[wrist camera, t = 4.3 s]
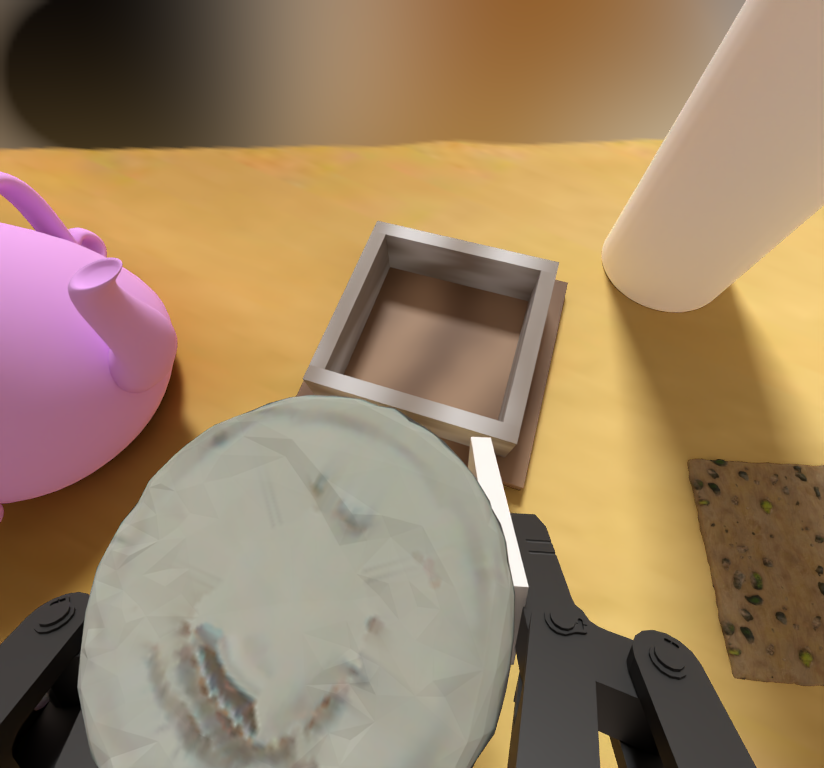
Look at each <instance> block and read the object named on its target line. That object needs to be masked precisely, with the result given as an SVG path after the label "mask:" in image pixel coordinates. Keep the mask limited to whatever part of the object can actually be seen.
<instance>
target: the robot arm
mask: <svg viewBox="0 0 824 768" xmlns="http://www.w3.org/2000/svg"><path fill="white" fill-rule="evenodd" d="M468 469H469V470H470V471H471V472H472V473H473V475H474V476H475V477H476V479H477V481H478V482H479V484H480V486H481V487H482V489H483V490H484V492H485V494H486V495H487V497H488V499H489V500H490V503H491V507H492V509H493V511H494V513H495V514H496V516H497V518H498V520H499V521H500V523H501V526H502V529H503V532H504V536H505V539H506V543H507V551H508V559H509V565H510V570H511V574H512V579H513V584H514V589H515V629H514V641H513V650H512V659H511V665H514V660H515V655H516V654H517V659H518V665H519V670H520V672H519V677H518V682H517V686H516V691H515V696H514V701H513V702H515V707H514V715H513V724H512V732H511V741H510V749H509V758H508V766H507V768H600V756H599V738H598V731H600V732H602V733H604V734H607V735H609V736H610V740H611V743H612V747H613V750H614V754H615V757H616V761H617V764H618V768H756V766H755V764H754V762H753V760H752V758H751V757H750V755H749V753H748V751H747V749H746V747H745V745H744V744H743V742H742V740H741V738H740V736H739V734H738V732H737V730H736V729H735V727H734V725H733V723H732V721H731V719H730V717H729V716H728V714H727V712H726V710H725V708H724V706H723V704H722V703H721V701H720V699H719V697H718V695H717V693H716V691H715V689H714V688H713V686H712V684H711V682H710V680H709V678H708V676H707V675H706V673H705V671H704V669H703V667H702V665H701V664H700V662H699V661H698V660H697V658H696V657H695V655H694V654H693V653H692V652H691V651H690V650H689V649H688V648H687V647H686V646H685V645H683V644H682V643H681V642H680V641H678V640H677V639H675V638H673V637H671V636H670V635H668V634H665V633H662V632H658V631H655V630H647V631H641V632H640V633H638V634H637V635H635V638H634V640H631V639H629V638H626V637H623V636H620V635H618V634H615V633H612V632H609V631H607V630H605V629H602V628H600V627H598V626H597V625H595V624H594V623H592V622H591V621H589V619H588V618H587V616H586V615H585V614H584V612H583V611H582V610H581V609H580V608H578V607H577V606H576V605H575V604H574V602H573V600H572V598H571V595H570V592H569V589H568V587H567V584H566V581H565V578H564V575H563V573H562V570H561V567H560V564H559V562H558V559H557V556H556V555H555V550H554V548H553V545H552V543H551V539H550V537H549V534H548V531H547V528H546V526H545V525H544V524H543V523H542V522H541V521H540V520H539V518H538V517H537V516H536V515H535V514H517V513H510V512H509V508H508V504H507V500H506V496H505V492H504V488H503V484H502V480H501V476H500V472H499V468H498V464H497V460H496V457H495V453H494V449H493V445H492V441H491V438H487V437H471V439H470V450H469V461H468ZM88 600H89V594H86V593H81V592H76V593H69V594H65V595H62V596H60V597H57V598H54V599H52V600H50V601H49V602H47V603H45V604H43V605H42V606H40V607H38V608H37V609H36V610H35V611H34V612H32V613H31V614H30V615H29V616H28V617H27V618H26V619H25V620H24V621H23V622H22V623H21V624H20V625H19V626H18V627H17V628H16V629H15V630H14V631H13V632H12V633H11V634H10V635H9V636H8V637H7V638H6V639H5V640H4V641H3V642H2V643H1V645H0V768H98V766H97V765H96V763H95V762H94V760H93V758H92V757H91V755H90V750H89V745H88V740H87V735H86V729H85V724H84V719H83V714H82V709H81V704H80V698H79V693H78V688H77V685H78V675H79V664H80V654H81V645H82V636H83V628H84V619H85V611H86V608H87V604H88Z"/></svg>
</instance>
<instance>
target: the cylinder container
mask: <svg viewBox="0 0 824 768" xmlns="http://www.w3.org/2000/svg"><path fill="white" fill-rule="evenodd" d="M822 206H824V0H746V2H745V3H744V5H743V7H742V8H741V10H740V12H739V14H738V15H737V17H736V19H735V20H734V22H733V24H732V25H731V27H730V29H729V31H728V32H727V34H726V36H725V38H724V39H723V41H722V42H721V45H720V46H719V48H718V49H717V51H716V53H715V54H714V56H713V58H712V59H711V61H710V63H709V65H708V66H707V68H706V70H705V71H704V73H703V75H702V76H701V78H700V80H699V82H698V83H697V85H696V87H695V89H694V90H693V92H692V94H691V95H690V97H689V99H688V100H687V102H686V104H685V105H684V107H683V109H682V111H681V112H680V114H679V116H678V117H677V119H676V121H675V123H674V124H673V126H672V128H671V129H670V131H669V133H668V134H667V136H666V138H665V139H664V141H663V143H662V145H661V146H660V148H659V150H658V151H657V153H656V155H655V156H654V158H653V160H652V162H651V163H650V165H649V167H648V168H647V170H646V172H645V173H644V175H643V177H642V179H641V180H640V182H639V184H638V185H637V187H636V189H635V190H634V192H633V194H632V196H631V197H630V199H629V201H628V202H627V204H626V206H625V207H624V209H623V211H622V213H621V214H620V216H619V218H618V219H617V221H616V223H615V225H614V226H613V228H612V230H611V231H610V233H609V235H608V236H607V238H606V240H605V242H604V245H603V248H602V263H603V267H604V269H605V272H606V274H607V276H608V277H609V279H610V280H611V282H612V283H613V284H614V286H615V287H616V288H617V289H618V290H619V291H620V292H622V293H623V294H624V295H626V296H627V297H628V298H630V299H631V300H633V301H635V302H637V303H639V304H641V305H643V306H646V307H649V308H652V309H655V310H659V311H665V312H686V311H692V310H695V309H698V308H701V307H703V306H705V305H707V304H708V303H710V302H711V301H712V300H714V299H715V298H716V297H717V296H718V295H719V294H721V293H722V292H723V291H724V290H725V289H726V288H728V287H729V286H730V285H731V284H732V283H733V282H735V281H736V280H737V279H738V278H739V277H741V276H742V275H743V274H744V273H745V272H746V271H748V270H749V269H750V268H751V267H752V266H753V265H755V264H756V263H757V262H758V261H759V260H760V259H762V258H763V257H764V256H765V255H766V254H767V253H769V252H770V251H771V250H772V249H773V248H774V247H776V246H777V245H778V244H779V243H780V242H781V241H783V240H784V239H785V238H786V237H787V236H788V235H790V234H791V233H792V232H793V231H794V230H795V229H797V228H798V227H799V226H800V225H801V224H802V223H804V222H805V221H806V220H807V219H808V218H809V217H811V216H812V215H813V214H814V213H815V212H817V211H818V210H819V209H820V208H821V207H822Z"/></svg>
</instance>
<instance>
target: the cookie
mask: <svg viewBox="0 0 824 768" xmlns="http://www.w3.org/2000/svg"><path fill="white" fill-rule="evenodd" d="M688 469H689V479H690V482H691V484H692V487H693V493H694V498H695V503H696V506H697V510H698V520H699V523H700V531H701V534H702V536H703V541H704V544H705V548H706V553H707V558H708V563H709V565H710V570H711V576H712V582H713V587H714V589H715V594H716V603H717V607H718V616H719V621H720V624H721V626H722V630H723V635H724V638H725V643H726V648H727V652H728V655H729V660H730V663H731V668H732V674H733V676H734V677H735V678H737V679H749V680H755V681H763V682H776V683H788V684H791V683H795V684H798V685H803V686H815V685H821V686H824V465H822V466H808V465H798V464H774V463H747V462H746V463H745V462H734V461H724V460H720V459H718V460H704V459H692V460H689V461H688Z"/></svg>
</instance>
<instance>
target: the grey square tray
mask: <svg viewBox="0 0 824 768" xmlns="http://www.w3.org/2000/svg"><path fill="white" fill-rule="evenodd" d="M558 265H559V262H555V261H550V260H546V259H542V258H537V257H533V256H528V255H524V254H520V253H515V252H511V251H507V250H502V249H498V248H494V247H489V246H485V245H481V244H476V243H472V242H467V241H463V240H459V239H454V238H450V237H446V236H441V235H437V234H433V233H428V232H424V231H419V230H415V229H411V228H406V227H402V226H398V225H393V224H389V223H385V222H380V221H377V223H376V225H375V227H374V229H373V231H372V233H371V235H370V238H369V240H368V242H367V244H366V246H365V248H364V250H363V252H362V255H361V257H360V259H359V261H358V263H357V265H356V267H355V269H354V272H353V274H352V276H351V278H350V280H349V282H348V284H347V286H346V288H345V291H344V293H343V295H342V297H341V299H340V301H339V303H338V305H337V308H336V310H335V312H334V314H333V316H332V318H331V320H330V322H329V325H328V327H327V329H326V331H325V333H324V335H323V337H322V339H321V341H320V344H319V346H318V348H317V350H316V352H315V354H314V356H313V358H312V361H311V363H310V365H309V367H308V369H307V371H306V373H305V375H304V378H303V380H304V381H303V383H302V385H301V388H300V390H299V392H298V394H297V396H296V397H298V396H305V395H322V396H333V395H335V396H343V397H350V398H357V399H363V400H366V401H368V402H371V403H373V404H376V405H378V406H384V407H391V408H396V409H397V410H399V411H401V412H402V413H404V414H405V415H407V416H408V417H410V418H411V419H413V420H414V421H416V422H417V423H419V424H421V425H422V426H424V427H426V428H427V429H429V430H430V431H432V432H433V433H434V434H435V435H437V436H438V437H439V438H440V439H442V440H443V441H444V442H445V443H446V444H447V445H448V446H449V447H450V448H451V449H452V450H453V451H454V452H455V453H456V454H457V456H458V457H459V458H460V459H461V460H462V461H463V462H464V464H465V465H466V466H467V467H468V461H469V450H470V439H471V437H487V438H491V441H492V445H493V449H494V453H495V457H496V460H497V464H498V468H499V472H500V476H501V480H502V484H503V485H505V486H508V487H512V488H515V489H518V490H521V489H523V488H524V483H525V478H526V474H527V469H528V465H529V460H530V455H531V451H532V446H533V441H534V437H535V432H536V428H537V423H538V418H539V414H540V409H541V404H542V400H543V395H544V390H545V386H546V381H547V377H548V372H549V367H550V363H551V358H552V353H553V349H554V344H555V340H556V335H557V330H558V326H559V321H560V316H561V312H562V307H563V303H564V298H565V293H566V289H567V284H568V283H566V282H562V281H558V280H555V278H556V273H557V269H558Z"/></svg>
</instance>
